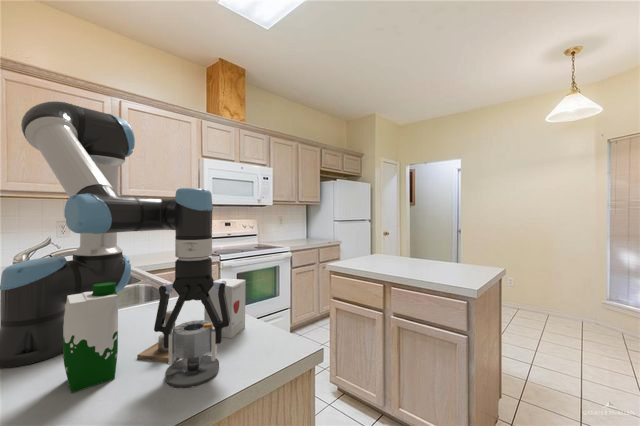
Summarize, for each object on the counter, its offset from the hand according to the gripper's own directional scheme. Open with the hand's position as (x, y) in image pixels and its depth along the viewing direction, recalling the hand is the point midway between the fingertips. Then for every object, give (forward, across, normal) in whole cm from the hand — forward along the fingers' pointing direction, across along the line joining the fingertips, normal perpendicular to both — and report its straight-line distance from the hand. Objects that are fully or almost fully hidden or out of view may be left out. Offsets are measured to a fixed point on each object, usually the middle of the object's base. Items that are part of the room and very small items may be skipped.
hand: (193, 359), depth 64 cm
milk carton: (+3, -21, +2) cm, 21 cm away
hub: (+3, 0, 0) cm, 3 cm away
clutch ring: (-2, 0, 0) cm, 2 cm away
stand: (+3, -8, +12) cm, 15 cm away
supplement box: (+3, +4, +22) cm, 23 cm away
